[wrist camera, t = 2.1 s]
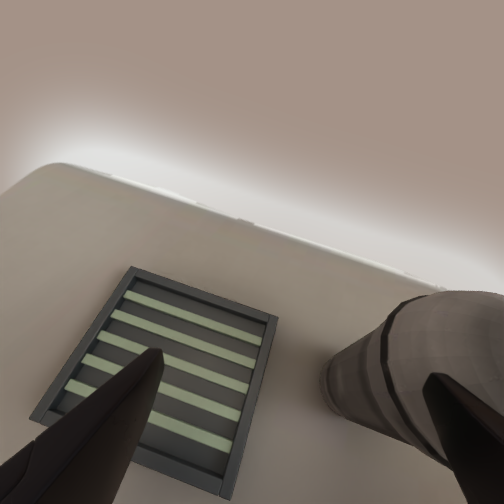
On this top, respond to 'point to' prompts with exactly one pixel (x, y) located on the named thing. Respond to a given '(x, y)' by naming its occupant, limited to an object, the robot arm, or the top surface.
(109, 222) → the top surface
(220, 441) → the drying rack
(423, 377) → the beverage cup
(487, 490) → the robot arm
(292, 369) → the top surface
